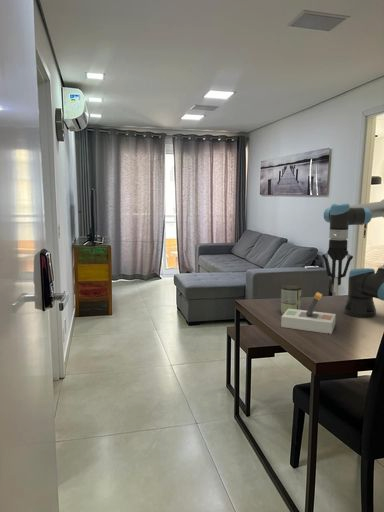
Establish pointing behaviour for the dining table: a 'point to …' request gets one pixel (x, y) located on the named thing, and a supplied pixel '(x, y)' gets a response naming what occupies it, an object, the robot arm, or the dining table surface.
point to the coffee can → (290, 297)
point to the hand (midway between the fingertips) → (335, 291)
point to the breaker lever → (313, 304)
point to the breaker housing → (308, 321)
